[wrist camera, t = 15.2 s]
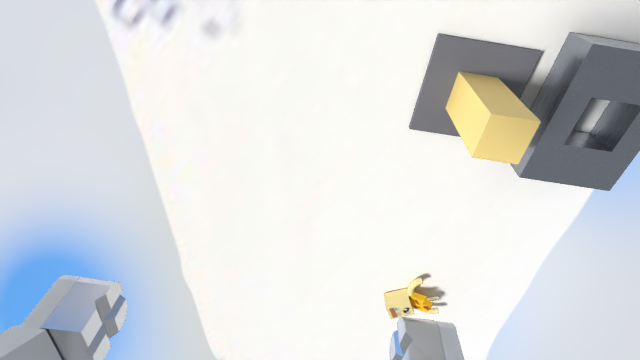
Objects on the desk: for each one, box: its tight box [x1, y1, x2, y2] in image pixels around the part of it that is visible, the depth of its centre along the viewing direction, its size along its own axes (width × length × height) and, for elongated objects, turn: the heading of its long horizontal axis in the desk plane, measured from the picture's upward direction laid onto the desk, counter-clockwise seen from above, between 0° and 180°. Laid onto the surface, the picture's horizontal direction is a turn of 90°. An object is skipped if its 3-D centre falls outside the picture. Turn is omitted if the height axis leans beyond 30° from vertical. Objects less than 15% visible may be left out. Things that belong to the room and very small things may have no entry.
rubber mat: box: [409, 34, 541, 137], centre depth 38 cm, size 10×10×1 cm
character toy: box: [384, 278, 439, 319], centre depth 56 cm, size 8×3×8 cm
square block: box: [446, 71, 541, 164], centre depth 34 cm, size 4×4×10 cm
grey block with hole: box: [510, 32, 640, 191], centre depth 37 cm, size 14×10×4 cm
